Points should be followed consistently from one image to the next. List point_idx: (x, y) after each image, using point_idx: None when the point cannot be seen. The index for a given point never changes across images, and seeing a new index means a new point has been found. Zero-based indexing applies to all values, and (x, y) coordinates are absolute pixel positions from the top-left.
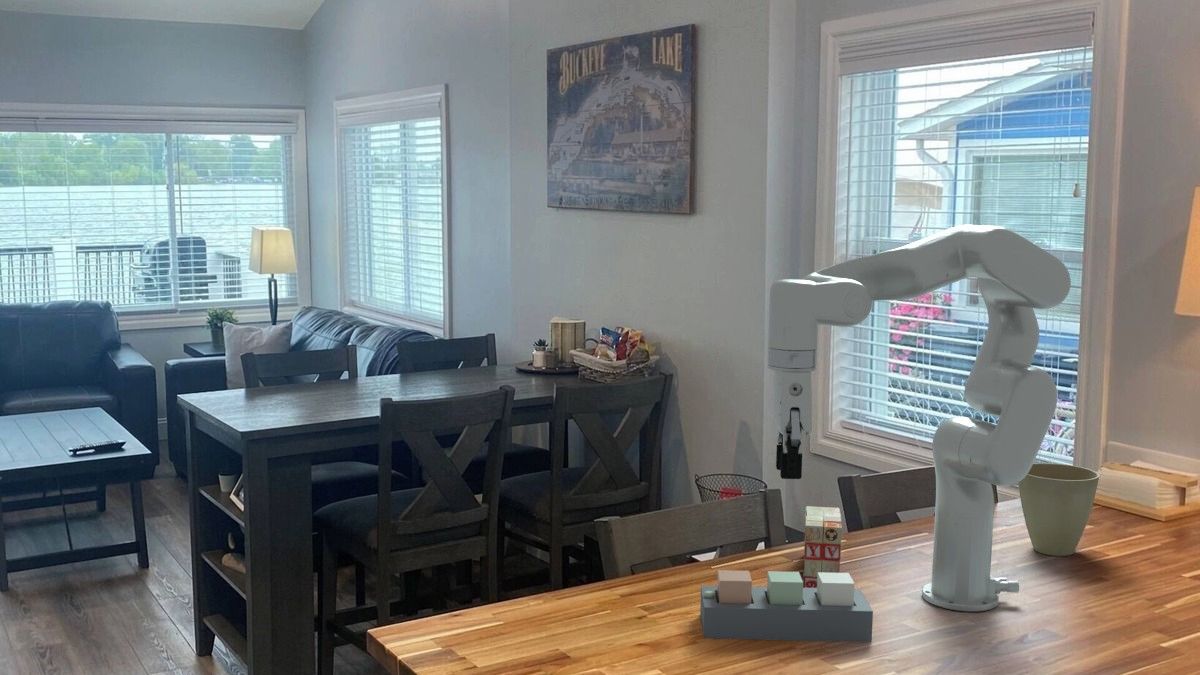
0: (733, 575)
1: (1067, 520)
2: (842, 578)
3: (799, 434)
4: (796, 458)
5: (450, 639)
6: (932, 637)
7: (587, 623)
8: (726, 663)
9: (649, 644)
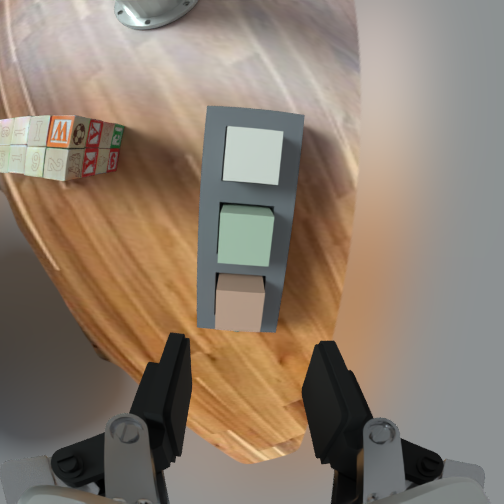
0: (238, 313)
1: None
2: (256, 144)
3: (482, 483)
4: (368, 416)
5: (260, 445)
6: (280, 47)
7: (230, 392)
8: (336, 297)
9: (282, 355)
